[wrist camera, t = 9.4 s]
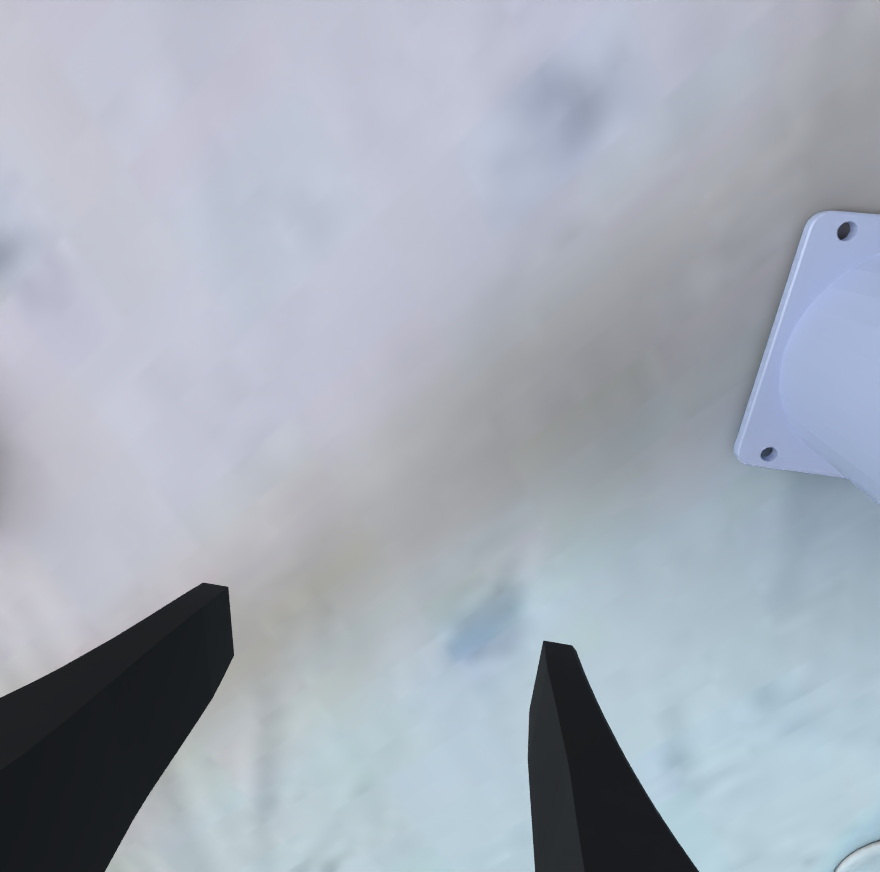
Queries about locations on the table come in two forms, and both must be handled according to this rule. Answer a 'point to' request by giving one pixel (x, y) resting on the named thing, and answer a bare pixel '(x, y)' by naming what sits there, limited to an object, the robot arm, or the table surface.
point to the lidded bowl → (862, 860)
